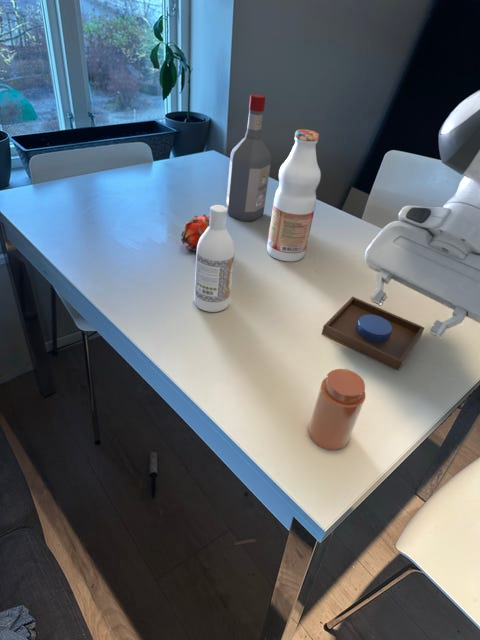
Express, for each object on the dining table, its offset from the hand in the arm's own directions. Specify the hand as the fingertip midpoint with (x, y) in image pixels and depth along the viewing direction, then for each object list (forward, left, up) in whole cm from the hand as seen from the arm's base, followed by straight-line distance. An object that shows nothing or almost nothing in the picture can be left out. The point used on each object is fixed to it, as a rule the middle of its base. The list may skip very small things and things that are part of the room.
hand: (403, 318), depth 64 cm
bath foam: (+35, -2, -16) cm, 39 cm away
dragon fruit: (+51, -18, -16) cm, 56 cm away
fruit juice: (+35, -31, -16) cm, 49 cm away
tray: (+6, -15, -16) cm, 22 cm away
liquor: (+55, -42, -16) cm, 71 cm away
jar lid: (+6, -15, -14) cm, 21 cm away
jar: (+2, +12, -16) cm, 20 cm away
